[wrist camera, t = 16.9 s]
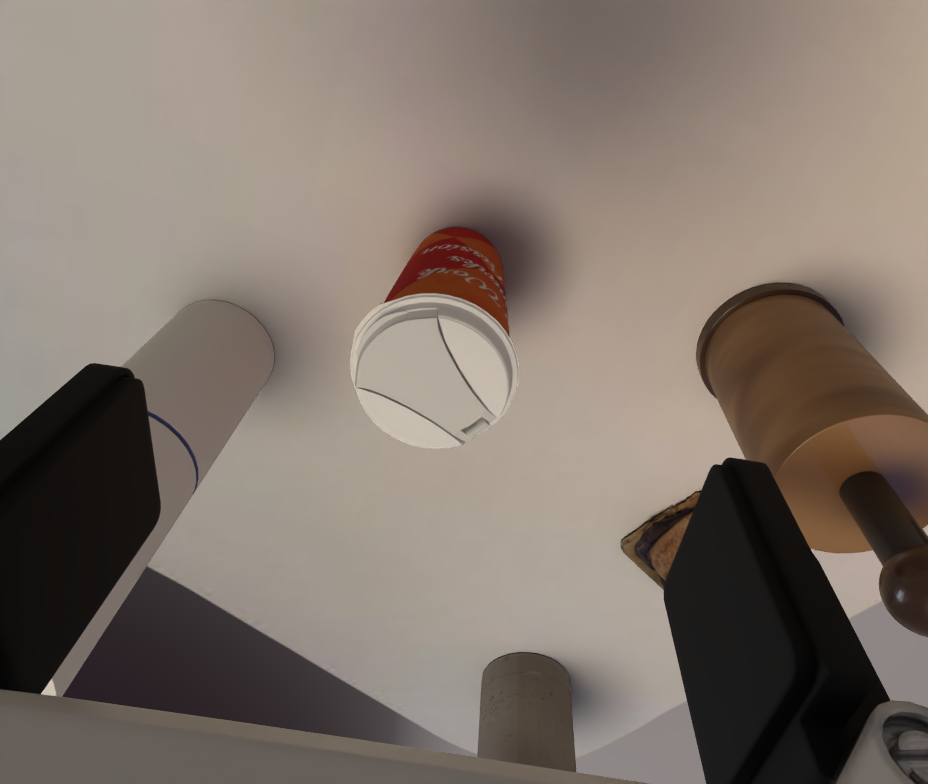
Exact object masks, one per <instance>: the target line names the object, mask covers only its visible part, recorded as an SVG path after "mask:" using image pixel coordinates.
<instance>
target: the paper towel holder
mask: <svg viewBox="0 0 928 784" xmlns="http://www.w3.org/2000/svg"><path fill="white" fill-rule="evenodd" d="M696 360H697V366H698V370H699V372H700V375H701V377H702V380H703V382H704V384H705V385H706V387H707V389H708V390H709V391H710V392H711V394H712V395H713V396H714V397H715V398H717V400H718V402H719V404H720V406H721V408H722V410H723V412H724V415H725V417H726V419H727V421H728V423H729V425H730V427H731V429H732V431H733V434H734V436H735V438H736V440H737V442H738V444H739V446H740V448H741V451H742V453H743V455H744V457H745V459H746V460H750V461H756V462H763V463H765V464H766V465H767V466H768V467H769V469H770V471H771V473H772V475H773V477H774V479H775V481H776V483H777V485H778V487H779V489H780V491H781V493H782V494H783V496H784V498H785V500H786V502H787V504H788V506H789V508H790V510H791V512H792V514H793V516H794V518H795V520H796V522H797V524H798V526H799V528H800V530H801V532H802V533H803V535H804V537H805V539H806V541H807V543H808V545H809V547H810V548H812V549H815V550H819V551H824V552H831V553H857V552H865V551H870V550H873V551H874V552H875V554H876V556H877V557H878V559H879V561H880V562H881V564H882V565H883V568H882V571H881V574H880V578H879V591H880V595H881V598H882V601H883V603H884V605H885V607H886V609H887V610H888V611H889V613H890V614H891V615H892V616H893V618H894V619H895V620H897V621H898V622H899V623H900V624H901V625H902V626H904V627H906V628H907V629H909V630H911V631H912V632H914V633H917V634H919V635H922V636H925V637H928V536H927V535H926V533H925V532H924V530H923V529H922V528H924V527H925V526H927V525H928V415H927V414H926V413H925V411H924V410H923V409H922V408H921V407H920V406H919V405H918V404H917V403H916V402H915V401H914V400H913V399H912V398H911V397H910V396H909V395H908V393H907V392H906V391H905V390H904V389H903V388H902V387H901V386H900V385H899V384H898V383H897V382H896V381H895V380H894V379H893V378H892V377H891V376H890V374H889V373H888V372H887V371H886V370H885V369H884V368H883V367H882V366H881V365H880V364H879V363H878V362H877V361H876V360H875V359H874V358H873V357H872V355H871V354H870V353H869V352H868V351H867V350H866V349H865V348H864V347H863V346H862V345H861V344H860V343H859V342H858V341H857V340H856V339H855V338H854V336H853V335H852V334H851V333H850V332H849V331H848V330H847V329H846V328H845V327H844V323H843V321H842V319H841V316H840V315H839V313H838V312H837V310H836V309H835V308H834V307H833V306H832V305H831V304H830V303H829V302H828V301H827V300H826V299H825V298H824V297H823V296H821V295H820V294H819V293H817V292H815V291H813V290H812V289H809V288H807V287H804V286H800V285H796V284H788V283H773V284H767V285H762V286H758V287H754V288H751V289H749V290H746V291H744V292H742V293H740V294H738V295H736V296H734V297H733V298H731V299H730V300H728V301H727V302H726V303H724V304H723V305H722V306H721V307H720V308H719V309H718V310H717V311H716V312H715V313H714V314H713V315H712V316H711V318H710V319H709V320H708V321H707V323H706V325H705V326H704V328H703V330H702V332H701V335H700V337H699V341H698V344H697V351H696Z"/></svg>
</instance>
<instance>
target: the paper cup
mask: <svg viewBox="0 0 928 784" xmlns="http://www.w3.org/2000/svg"><path fill="white" fill-rule="evenodd" d="M350 371H351V377H352V381H353V384H354V387H355V390H356V392H357V395H358V398H359V401H360V403H361V405H362V407H363V409H364V411H365V412H366V413H367V415H368V416H369V417H370V419H371V420H372V421H373V422H374V423H375V424H376V425H377V426H378V427H379V428H380V429H381V430H383V431H384V432H385V433H387V434H388V435H390V436H392V437H393V438H395V439H397V440H399V441H401V442H404V443H406V444H409V445H413V446H416V447H421V448H429V449H444V448H452V447H456V446H460V445H463V444H464V443H465V441H466V440H468V439H469V438H471V439H473V438H474V437H475V436H477V435H478V434H480V433H482V432H483V431H485V430H486V429H488V428H490V427H491V426H492V425H494V424H495V423H496V422H497V421H498V420H499V419H500V418H501V417H502V416H503V415H504V414H505V412H506V411H507V410H508V408H509V407H510V405H511V403H512V401H513V399H514V397H515V394H516V391H517V388H518V382H519V362H518V357H517V353H516V350H515V348H514V345H513V342H512V341H511V339H510V336H509V325H508V314H507V303H506V293H505V284H504V276H503V269H502V264H501V261H500V258H499V255H498V253H497V251H496V250H495V248H494V247H493V245H492V244H491V243H490V242H489V241H488V240H487V239H486V238H485V237H483V236H482V235H480V234H479V233H477V232H475V231H472V230H469V229H465V228H447V229H443V230H440V231H437V232H435V233H433V234H432V235H430V236H429V237H427V238H426V239H425V240H424V241H423V242H422V243H421V245H420V246H419V247H418V248H417V250H416V251H415V253H414V254H413V256H412V257H411V259H410V260H409V262H408V263H407V265H406V267H405V268H404V270H403V272H402V273H401V275H400V276H399V278H398V280H397V281H396V283H395V285H394V286H393V288H392V290H391V291H390V293H389V295H388V296H387V298H386V300H385V301H384V303H381V304H379V305H378V306H377V307H375V308H374V309H373V310H371V311H370V312H369V313H368V314H367V315H366V316H365V317H364V319H363V320H362V321H361V322H360V324H359V325H358V327H357V329H356V330H355V333H354V339H353V345H352V350H351V355H350Z"/></svg>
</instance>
